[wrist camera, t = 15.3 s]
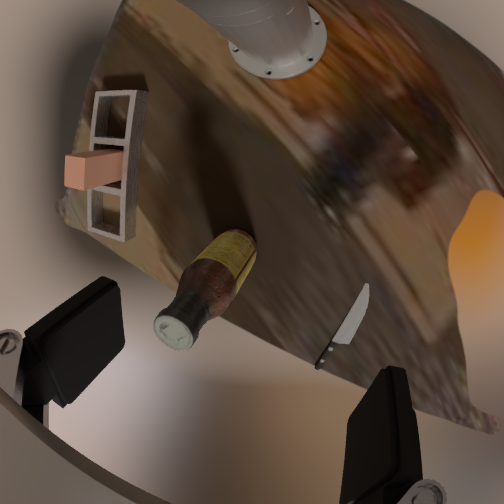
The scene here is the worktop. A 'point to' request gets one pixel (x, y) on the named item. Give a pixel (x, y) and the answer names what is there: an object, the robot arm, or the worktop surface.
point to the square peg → (93, 168)
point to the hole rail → (129, 166)
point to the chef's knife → (348, 324)
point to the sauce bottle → (206, 288)
